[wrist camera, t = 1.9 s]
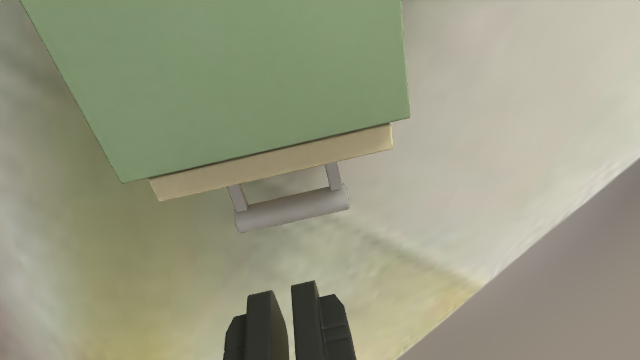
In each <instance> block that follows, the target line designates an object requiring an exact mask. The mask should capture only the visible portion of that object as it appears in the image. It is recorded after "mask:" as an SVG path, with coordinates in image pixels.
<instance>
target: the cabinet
mask: <svg viewBox="0 0 640 360" xmlns="http://www.w3.org/2000/svg"><path fill="white" fill-rule="evenodd" d="M20 2H21V4H22V5H23V7H24V9H25V11H26V13H27V14H28V16H29V18H30V20H31V22H32V23H33V25H34V27H35V29H36V31H37V33H38V34H39V36H40V38H41V40H42V42H43V43H44V45H45V47H46V49H47V51H48V52H49V54H50V56H51V58H52V60H53V61H54V63H55V65H56V67H57V69H58V70H59V72H60V74H61V76H62V78H63V79H64V81H65V83H66V85H67V87H68V88H69V90H70V92H71V94H72V96H73V97H74V99H75V101H76V103H77V105H78V106H79V108H80V110H81V112H82V114H83V116H84V117H85V119H86V121H87V123H88V125H89V126H90V128H91V130H92V132H93V134H94V135H95V137H96V139H97V141H98V143H99V144H100V146H101V148H102V150H103V152H104V153H105V155H106V157H107V159H108V161H109V162H110V164H111V166H112V168H113V170H114V171H115V173H116V175H117V177H118V179H119V180H120V182H121V183H122V184H124V183H128V182H133V181H137V180H141V179H146V178H150V177H154V176H159V175H163V174H167V173H172V172H176V171H180V170H185V169H189V168H193V167H198V166H202V165H207V164H211V163H215V162H220V161H224V160H228V159H233V158H237V157H241V156H246V155H250V154H254V153H259V152H263V151H267V150H272V149H276V148H280V147H285V146H289V145H294V144H298V143H302V142H307V141H311V140H315V139H320V138H324V137H328V136H333V135H337V134H341V133H346V132H350V131H354V130H359V129H363V128H367V127H372V126H376V125H381V124H385V123H389V122H394V121H398V120H402V119H407V118H410V107H409V94H408V82H407V70H406V57H405V45H404V33H403V21H402V8H401V0H20Z"/></svg>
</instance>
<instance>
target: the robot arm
mask: <svg viewBox="0 0 640 360" xmlns="http://www.w3.org/2000/svg"><path fill="white" fill-rule="evenodd" d="M291 295H292V310H293V325H294V340H295V354H296V360H356V356H355V351H354V346H353V342H352V337H351V333H350V329H349V325H348V321H347V316H346V312H345V308H344V305H343V304H342V303H341V302H340V300H339V299H338V298H337V297H336V295H335V294H332V295H328V296H324V297H319V293H318V290H317V286H316V283H315V281H309V282H305V283H300V284H296V285H292V286H291ZM224 350H225V353H224V356H223V360H289V345H288V335H287V329H286V325H285V321H284V318H283V316H282V313H281V310H280V308H279V305H278V302H277V300H276V297H275V294H274V292H273V291H272V290H270V291H265V292H261V293H257V294H252V295H249V296H248V298H247V313H246V314H244V315H240V316H236V317H234V318H233V320H232V322H231V324H230V326H229V328H228V330H227V332H226V337H225V347H224Z"/></svg>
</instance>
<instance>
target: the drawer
mask: <svg viewBox="0 0 640 360" xmlns="http://www.w3.org/2000/svg"><path fill="white" fill-rule="evenodd" d="M392 148H393V141H392V132H391V125H390V123H385V124H381V125H376V126H372V127H367V128H363V129H359V130H354V131H350V132H346V133H341V134H337V135H333V136H328V137H324V138H320V139H315V140H311V141H307V142H302V143H298V144H294V145H289V146H285V147H280V148H276V149H272V150H267V151H263V152H259V153H254V154H250V155H246V156H241V157H237V158H233V159H228V160H224V161H220V162H215V163H211V164H207V165H202V166H198V167H193V168H189V169H185V170H180V171H176V172H172V173H167V174H163V175H159V176H154V177H150V178H149V183H150V185H151V187H152V189H153V191H154V193H155V195H156V197H157V199H158V201H159V202H163V201H167V200H172V199H176V198H180V197H185V196H189V195H193V194H198V193H202V192H206V191H211V190H215V189H219V188H224V187H227V188H228V191H229V193H230V196H231V199H232V201H233V204H234V206H235V209H234V220H235V224H236V228H237V230H238V232H239V233H246V232H251V231H255V230H259V229H264V228H268V227H272V226H277V225H281V224H286V223H290V222H294V221H299V220H303V219H307V218H312V217H316V216H321V215H325V214H329V213H334V212H338V211H342V210H347V209H349V208H350V204H349V199H348V195H347V190H346V187H345V185H344V184H343V183H342V184H341V180H340V176H339V171H338V166H337V161H342V160H346V159H350V158H355V157H359V156H363V155H368V154H372V153H376V152H381V151H385V150H390V149H392ZM324 164H325V168H326V172H327V177H328V181H329V187H325V188H320V189H316V190H312V191H307V192H303V193H299V194H294V195H290V196H286V197H281V198H277V199H272V200H268V201H264V202H259V203H255V204H251V205H248V202H247V200H246V197H245V194H244V191H243V188H242V186H241V183H246V182H250V181H254V180H259V179H263V178H267V177H272V176H276V175H281V174H285V173H289V172H294V171H298V170H302V169H307V168H311V167H315V166H320V165H324Z"/></svg>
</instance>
